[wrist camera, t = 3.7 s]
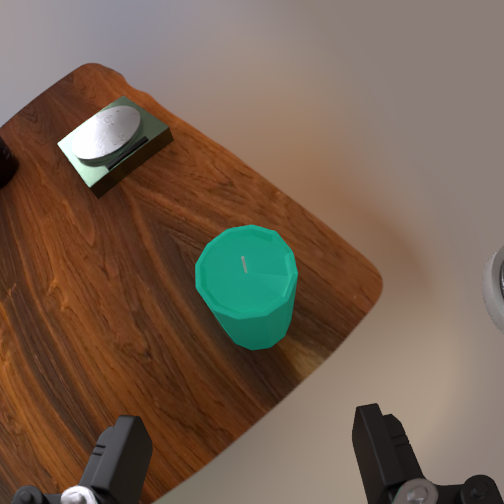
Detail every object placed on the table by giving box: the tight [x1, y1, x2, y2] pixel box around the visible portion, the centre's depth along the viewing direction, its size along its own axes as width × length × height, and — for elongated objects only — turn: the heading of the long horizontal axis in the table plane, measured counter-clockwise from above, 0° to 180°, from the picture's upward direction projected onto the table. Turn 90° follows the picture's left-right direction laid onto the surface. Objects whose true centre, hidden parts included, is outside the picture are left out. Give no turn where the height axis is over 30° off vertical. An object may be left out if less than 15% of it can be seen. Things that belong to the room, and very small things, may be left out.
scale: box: [58, 96, 174, 199], centre depth 38 cm, size 13×12×3 cm
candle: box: [195, 225, 298, 350], centre depth 23 cm, size 6×6×12 cm
